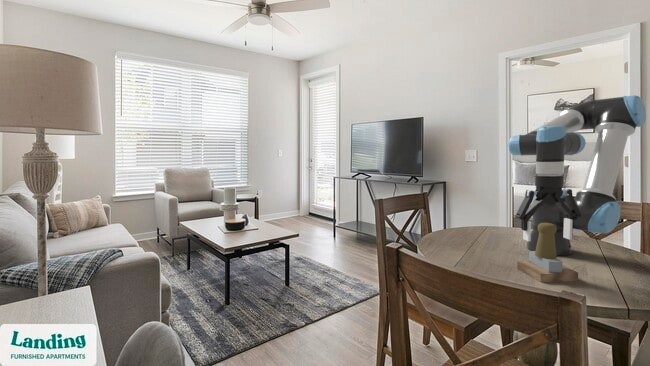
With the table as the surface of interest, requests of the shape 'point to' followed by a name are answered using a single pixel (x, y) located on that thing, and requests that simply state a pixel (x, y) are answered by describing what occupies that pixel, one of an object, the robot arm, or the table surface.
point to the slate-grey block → (546, 263)
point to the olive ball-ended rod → (546, 241)
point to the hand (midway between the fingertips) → (547, 239)
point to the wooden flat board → (546, 273)
